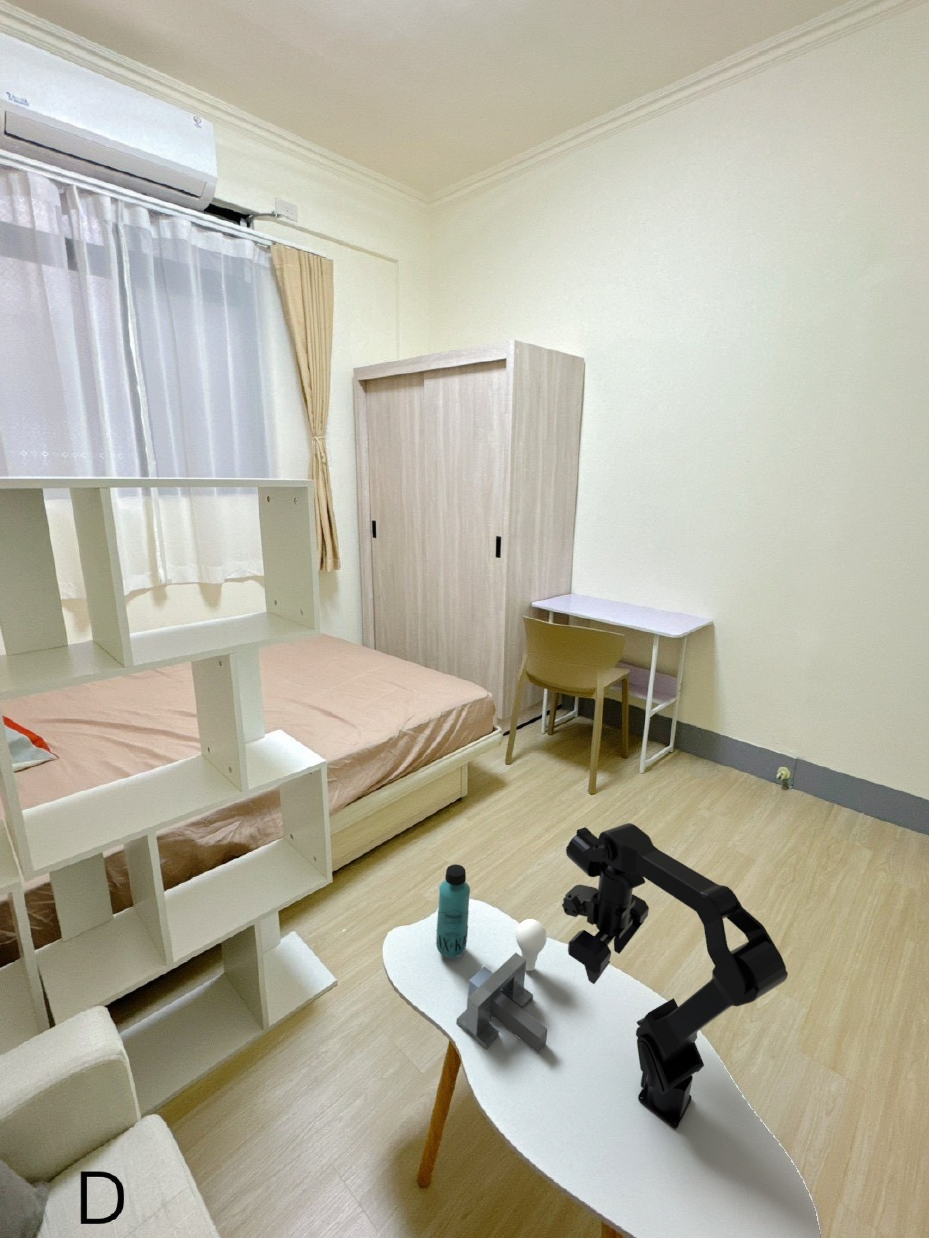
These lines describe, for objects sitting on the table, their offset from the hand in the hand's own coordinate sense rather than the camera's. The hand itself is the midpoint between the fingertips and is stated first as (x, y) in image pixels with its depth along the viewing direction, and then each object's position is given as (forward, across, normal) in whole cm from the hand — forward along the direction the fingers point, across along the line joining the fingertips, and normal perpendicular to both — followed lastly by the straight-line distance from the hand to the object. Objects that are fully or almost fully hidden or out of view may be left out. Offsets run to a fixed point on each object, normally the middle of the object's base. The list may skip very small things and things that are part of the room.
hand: (604, 966), depth 104 cm
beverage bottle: (+12, +8, -30) cm, 33 cm away
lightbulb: (+12, 0, -16) cm, 20 cm away
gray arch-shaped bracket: (+12, +12, -15) cm, 22 cm away
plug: (+12, +12, -12) cm, 21 cm away
